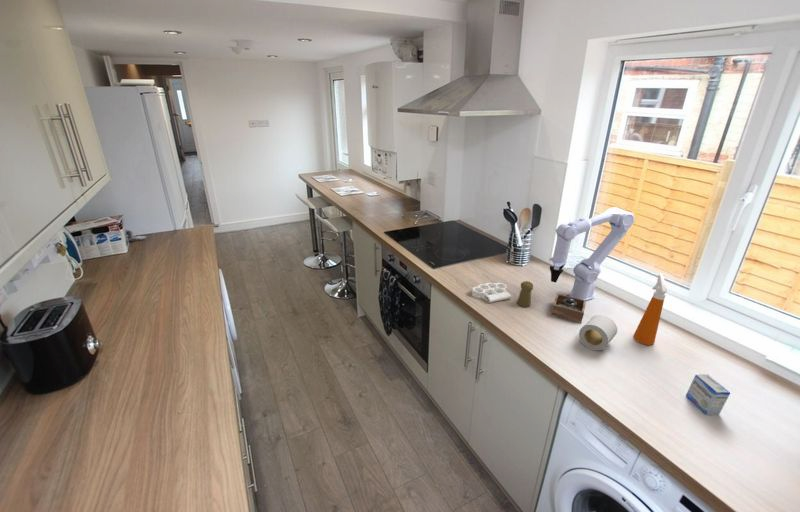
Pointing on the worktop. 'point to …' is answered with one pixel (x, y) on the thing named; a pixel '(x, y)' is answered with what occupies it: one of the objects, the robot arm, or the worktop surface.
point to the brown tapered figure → (525, 295)
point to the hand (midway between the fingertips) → (554, 278)
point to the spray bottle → (652, 314)
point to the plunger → (569, 303)
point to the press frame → (568, 309)
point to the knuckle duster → (491, 292)
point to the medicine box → (707, 394)
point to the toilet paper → (598, 332)
